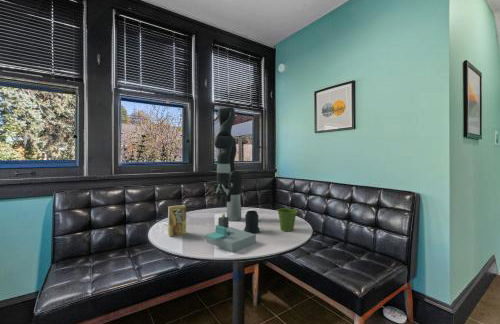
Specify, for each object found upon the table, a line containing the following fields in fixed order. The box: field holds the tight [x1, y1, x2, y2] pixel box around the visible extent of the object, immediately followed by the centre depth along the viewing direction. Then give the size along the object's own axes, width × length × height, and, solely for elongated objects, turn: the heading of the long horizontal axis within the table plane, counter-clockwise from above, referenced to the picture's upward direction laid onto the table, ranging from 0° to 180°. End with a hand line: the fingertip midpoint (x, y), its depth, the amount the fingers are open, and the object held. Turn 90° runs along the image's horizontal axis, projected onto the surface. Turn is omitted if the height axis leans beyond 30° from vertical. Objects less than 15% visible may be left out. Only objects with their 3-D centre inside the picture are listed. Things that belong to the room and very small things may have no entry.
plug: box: [217, 213, 230, 228], centre depth 127 cm, size 4×4×10 cm
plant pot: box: [276, 208, 298, 232], centre depth 132 cm, size 12×12×11 cm
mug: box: [243, 210, 261, 234], centre depth 130 cm, size 12×9×11 cm
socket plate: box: [206, 226, 257, 253], centre depth 111 cm, size 16×18×4 cm
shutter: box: [205, 224, 227, 240], centre depth 107 cm, size 7×7×4 cm
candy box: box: [167, 204, 187, 237], centre depth 123 cm, size 9×4×15 cm, turn 119°
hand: (223, 200), depth 127 cm, fingers open, 8 cm apart
